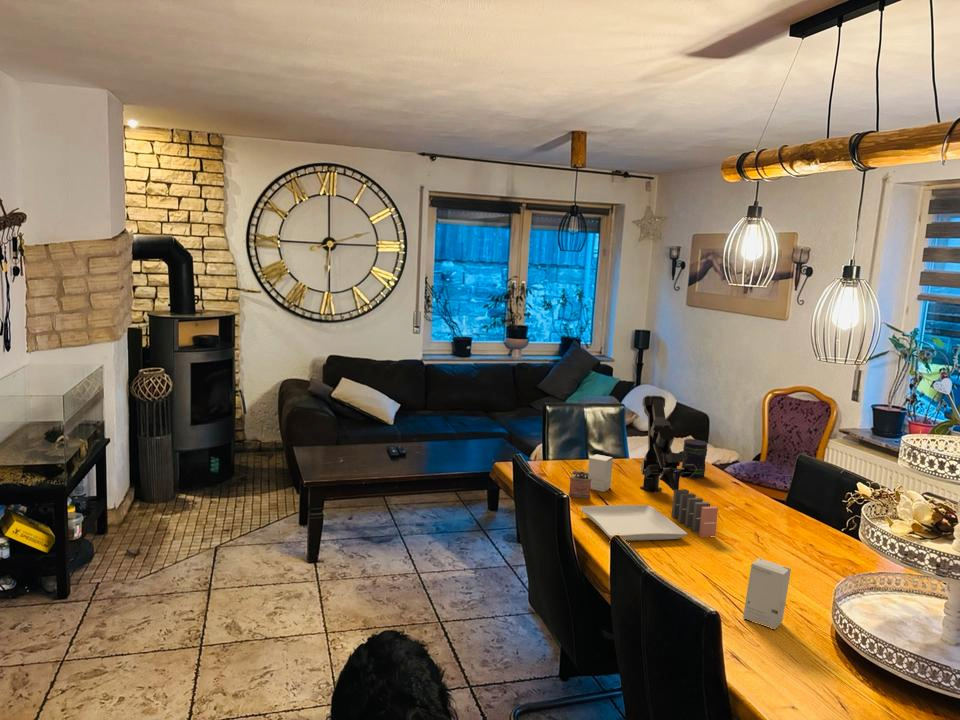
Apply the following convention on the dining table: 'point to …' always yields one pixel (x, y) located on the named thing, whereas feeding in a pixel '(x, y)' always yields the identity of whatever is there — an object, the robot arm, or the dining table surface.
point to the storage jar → (696, 456)
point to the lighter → (580, 484)
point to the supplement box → (600, 472)
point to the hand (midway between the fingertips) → (677, 492)
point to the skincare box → (766, 593)
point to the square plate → (633, 522)
